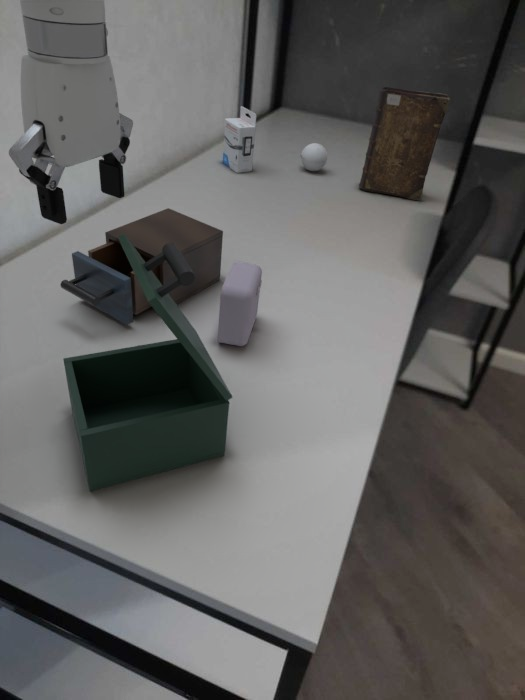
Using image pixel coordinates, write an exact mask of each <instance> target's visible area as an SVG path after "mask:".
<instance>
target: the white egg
mask: <svg viewBox="0 0 525 700" xmlns="http://www.w3.org/2000/svg"><path fill="white" fill-rule="evenodd" d="M300 160H301V164H302V165H303V167H304V168H305V169H306V170H308V171H310V172H318V171H320V170H322V169H323V168H324V167H325V165H326V164H327V161H328V153H327V149H326V148H325V146H324V145H322V144H320V143H317V142H313V143H310V144H307V145H306V146H305V147H304V148H303V149H302V151H301V154H300Z"/></svg>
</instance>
